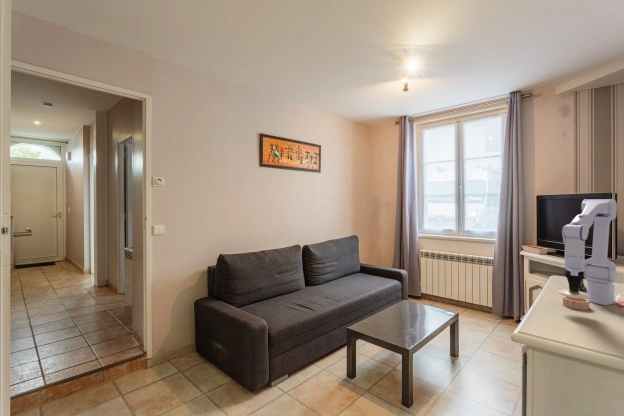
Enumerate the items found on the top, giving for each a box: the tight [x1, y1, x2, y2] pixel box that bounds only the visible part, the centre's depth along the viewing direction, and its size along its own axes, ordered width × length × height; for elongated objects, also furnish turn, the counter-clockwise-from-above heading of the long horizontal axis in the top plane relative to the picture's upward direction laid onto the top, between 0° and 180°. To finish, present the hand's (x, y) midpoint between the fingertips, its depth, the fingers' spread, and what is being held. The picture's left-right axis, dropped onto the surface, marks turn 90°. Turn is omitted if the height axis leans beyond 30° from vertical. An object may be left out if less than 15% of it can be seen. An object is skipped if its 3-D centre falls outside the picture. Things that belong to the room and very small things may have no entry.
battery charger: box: [579, 278, 587, 292], centre depth 142 cm, size 7×4×11 cm, turn 127°
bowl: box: [562, 295, 590, 311], centre depth 120 cm, size 8×8×3 cm
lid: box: [558, 287, 590, 299], centre depth 113 cm, size 9×9×4 cm
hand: (574, 290), depth 113 cm, fingers closed on lid, 3 cm apart
